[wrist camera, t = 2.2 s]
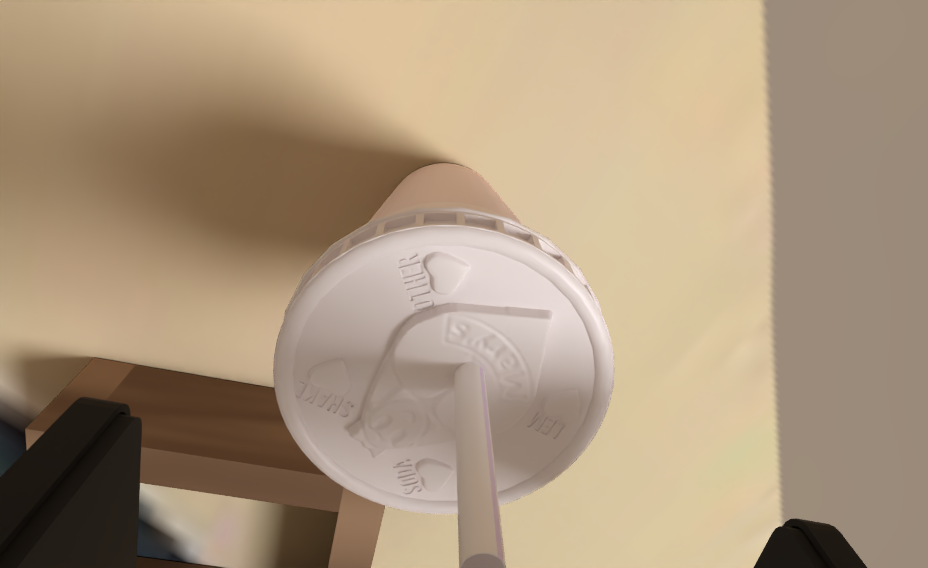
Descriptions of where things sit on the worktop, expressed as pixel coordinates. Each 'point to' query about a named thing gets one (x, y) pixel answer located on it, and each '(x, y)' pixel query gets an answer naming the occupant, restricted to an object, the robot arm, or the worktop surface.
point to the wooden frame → (221, 448)
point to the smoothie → (444, 358)
